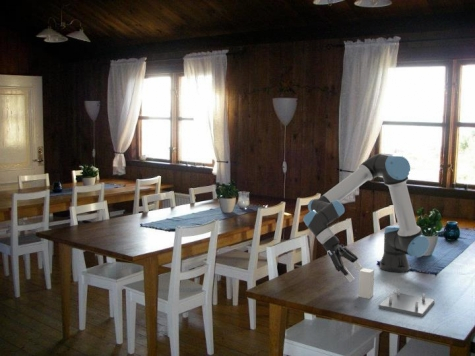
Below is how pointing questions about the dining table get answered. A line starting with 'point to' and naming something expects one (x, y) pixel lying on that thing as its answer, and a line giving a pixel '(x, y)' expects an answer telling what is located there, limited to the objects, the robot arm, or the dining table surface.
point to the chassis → (407, 304)
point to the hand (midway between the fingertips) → (358, 276)
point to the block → (366, 283)
